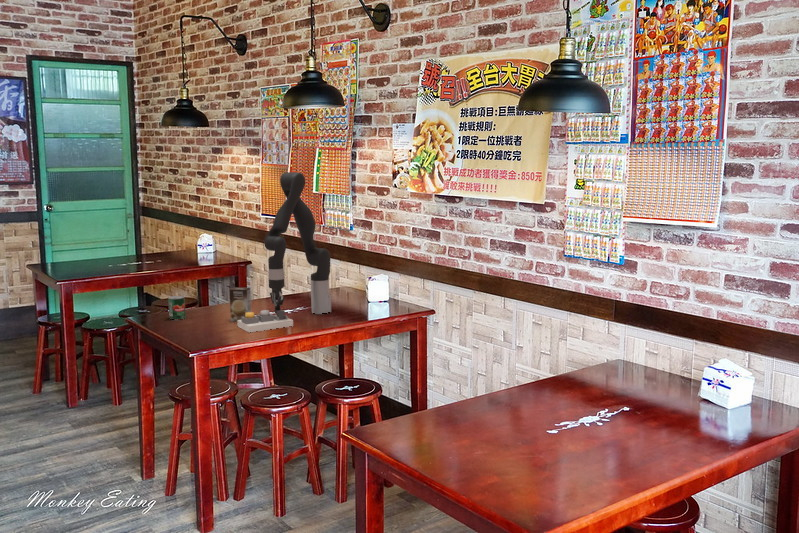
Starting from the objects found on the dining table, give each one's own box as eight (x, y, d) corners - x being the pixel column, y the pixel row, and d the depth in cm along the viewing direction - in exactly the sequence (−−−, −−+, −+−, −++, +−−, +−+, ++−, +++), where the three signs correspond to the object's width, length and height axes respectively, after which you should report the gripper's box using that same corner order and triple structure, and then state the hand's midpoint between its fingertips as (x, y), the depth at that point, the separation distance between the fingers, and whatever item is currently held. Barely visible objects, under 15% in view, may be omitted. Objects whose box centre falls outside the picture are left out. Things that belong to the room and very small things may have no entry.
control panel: (280, 320, 365) (280, 309, 364) (293, 326, 352) (292, 314, 351) (237, 326, 353) (237, 315, 353) (249, 332, 341) (248, 321, 340)
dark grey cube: (282, 317, 356) (282, 309, 356) (284, 318, 354) (284, 310, 353) (276, 318, 355) (276, 310, 354) (279, 319, 352) (278, 311, 352)
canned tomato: (175, 316, 376) (174, 295, 375) (189, 317, 374) (187, 296, 372) (166, 319, 369) (164, 298, 367) (179, 320, 366) (178, 299, 365)
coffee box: (230, 321, 363) (228, 289, 361) (234, 318, 370) (232, 287, 367) (248, 321, 363) (246, 289, 360) (252, 319, 369) (250, 287, 366)
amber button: (252, 317, 351) (252, 311, 350) (255, 319, 348) (255, 313, 347) (244, 318, 349) (244, 312, 348) (247, 320, 346) (247, 314, 345)
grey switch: (267, 315, 355) (267, 309, 354) (270, 317, 352) (270, 311, 351) (259, 316, 353) (259, 310, 352) (262, 318, 349) (262, 312, 349)
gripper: (289, 279, 350) (290, 315, 353) (278, 275, 361) (279, 309, 364) (274, 280, 346) (275, 317, 349) (263, 276, 357) (265, 311, 360)
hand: (277, 313), depth 357 cm, fingers closed
